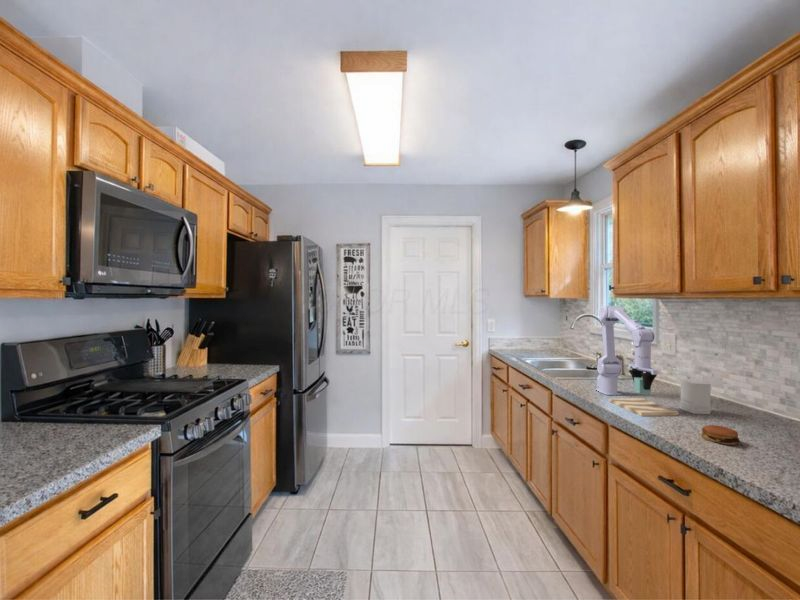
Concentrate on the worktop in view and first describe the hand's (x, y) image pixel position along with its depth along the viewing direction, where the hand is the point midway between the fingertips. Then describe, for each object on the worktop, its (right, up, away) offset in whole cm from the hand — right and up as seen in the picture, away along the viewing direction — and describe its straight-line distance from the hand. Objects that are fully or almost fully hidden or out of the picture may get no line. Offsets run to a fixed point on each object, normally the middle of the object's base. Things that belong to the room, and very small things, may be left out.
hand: (642, 387), depth 158 cm
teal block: (0, -2, 0) cm, 2 cm away
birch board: (0, -9, 0) cm, 9 cm away
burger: (+3, -10, -35) cm, 37 cm away
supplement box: (+20, -10, -3) cm, 23 cm away
